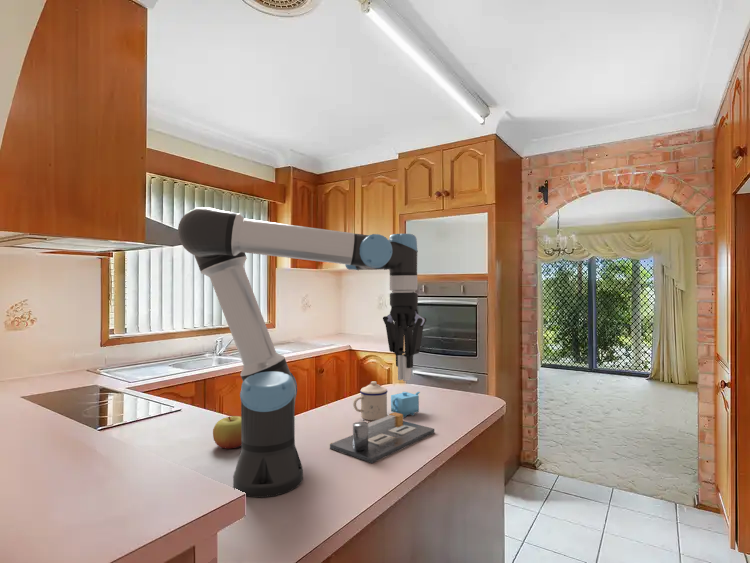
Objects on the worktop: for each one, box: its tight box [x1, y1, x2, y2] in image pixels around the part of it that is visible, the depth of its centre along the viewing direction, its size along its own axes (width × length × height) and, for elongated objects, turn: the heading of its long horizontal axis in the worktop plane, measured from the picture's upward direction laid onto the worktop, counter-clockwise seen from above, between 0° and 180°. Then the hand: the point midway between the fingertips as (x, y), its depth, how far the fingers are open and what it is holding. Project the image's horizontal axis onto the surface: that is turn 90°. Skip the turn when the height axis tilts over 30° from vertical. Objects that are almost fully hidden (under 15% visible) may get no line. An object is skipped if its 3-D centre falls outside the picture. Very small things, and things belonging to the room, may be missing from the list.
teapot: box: [390, 391, 421, 418], centre depth 145 cm, size 12×6×8 cm, turn 125°
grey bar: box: [352, 412, 404, 450], centre depth 117 cm, size 18×4×6 cm, turn 139°
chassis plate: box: [329, 420, 435, 464], centre depth 120 cm, size 28×15×2 cm, turn 139°
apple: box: [212, 415, 242, 450], centre depth 118 cm, size 10×10×8 cm
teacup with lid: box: [352, 381, 388, 421], centre depth 141 cm, size 12×9×12 cm
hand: (404, 379), depth 115 cm, fingers closed
